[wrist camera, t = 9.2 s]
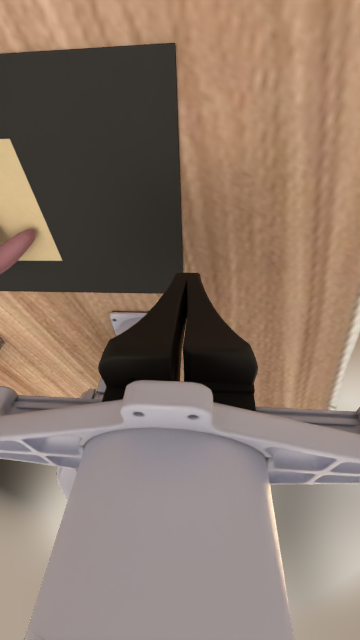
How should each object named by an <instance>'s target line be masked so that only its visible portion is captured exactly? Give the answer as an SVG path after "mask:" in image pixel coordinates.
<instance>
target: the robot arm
mask: <svg viewBox="0 0 360 640" xmlns="http://www.w3.org/2000/svg"><path fill="white" fill-rule="evenodd" d="M110 319H111V322H112V325H113V328H114V331H115V334H116V337H114V338H113V339H111V340H109V342H108V344H107V346H106V348H105V350H104V352H103V355H102V357H101V360H100V363H99V367H98V369H99V373H100V375H101V377H102V380H100V382H99V385H98V388H97V391H96V393H95V389H92V388H90V389H89V390H88V391H86V392H84V393H83V394H82V395H81V397H80V398H64V397H43V396H23V395H17V393H16V392H15V391H14V390H13V389H11V388H9V387H5V386H0V459H8V460H17V461H24V462H32V463H38V464H46V465H51V466H58V470H57V473H56V474H57V476H58V480H57V484H58V486H59V488H60V489H61V490H62V492H63V494H64V495H65V496H66V498H67V499H68V502H67V505H66V508H65V511H64V515H63V518H62V521H61V524H60V528H59V530H58V534H57V537H56V540H55V543H54V546H53V550H52V553H51V556H50V559H49V562H48V565H47V568H46V571H45V575H44V578H43V581H42V584H41V587H40V591H39V594H38V597H37V600H36V603H35V606H34V609H33V613H32V616H31V619H30V622H29V625H28V628H27V631H26V635H25V638H24V640H294V635H293V629H292V622H291V617H290V610H289V603H288V597H287V591H286V585H285V579H284V572H283V566H282V559H281V553H280V546H279V540H278V534H277V528H276V522H275V515H274V508H273V502H272V496H271V489H270V484H360V408H359V409H358V410H357V411H356V412H350V411H331V410H310V409H289V408H269V407H255V400H254V391H255V390H254V381H255V378H256V375H257V371H258V366H257V362H256V359H255V356H254V353H253V351H252V349H251V346H250V344H248V343H247V342H246V341H244V340H243V339H242V338H241V337H239V336H238V335H237V334H236V333H235V332H234V331H233V330H232V329H231V328H230V327H229V326H228V325H227V324H226V323H225V322H224V320H223V319H222V318H221V317H220V315H219V314H218V313H217V311H216V310H215V308H214V307H213V305H212V303H211V302H210V300H209V298H208V296H207V294H206V292H205V290H204V287H203V285H202V282H201V278H200V274H199V273H176V274H175V276H174V278H173V280H172V282H171V283H170V285H169V287H168V288H167V290H166V291H165V293H164V294H163V296H162V297H161V298H160V299H159V301H158V302H157V303H156V305H155V306H154V307H153V308H152V309H151V310H150V311H149V312H148V313H133V312H111V313H110ZM186 320H187V322H186ZM185 326H186V330H185ZM184 332H185V338H184ZM183 338H184V344H183ZM182 344H183V358H184V382H180V368H181V352H182Z"/></svg>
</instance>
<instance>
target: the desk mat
mask: <svg viewBox="0 0 360 640" xmlns="http://www.w3.org/2000/svg"><path fill="white" fill-rule="evenodd" d="M28 229H32V230H34V231H35V233H36V237H35V240H34V242H33V243H32V245H31V246H30V247H29V248H28V249H27V251H26V252H25V253H24V254H23V255H22V256H21V257H20V259H19V260H18V261H17V262H16V263H15V264H13V265H12V266H11V267H10V268H9V269H7V270H6V271H4V272H3V273H1V274H0V291H33V292H100V293H165V291H166V290H167V288H168V287H169V285H170V283H171V282H172V280H173V278H174V276H175V274H176V273H183V255H182V225H181V196H180V167H179V137H178V108H177V79H176V49H175V43H166V44H150V45H134V46H118V47H102V48H86V49H70V50H54V51H38V52H22V53H6V54H0V245H2V244H3V243H5V242H6V241H8V240H9V239H11V238H12V237H14V236H15V235H17V234H18V233H20V232H22V231H25V230H28Z"/></svg>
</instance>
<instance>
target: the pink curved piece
mask: <svg viewBox="0 0 360 640" xmlns="http://www.w3.org/2000/svg"><path fill="white" fill-rule="evenodd" d="M35 237H36V233H35V231H34V230H32V229H28V230H25V231H22V232H20V233H18V234H17V235H15V236H14V237H12V238H11V239H9V240H8V241H6V242H5V243H3V244H2V245H0V274H1V273H3V272H4V271H6V270H7V269H9V268H10V267H11V266H12V265H13V264H15V263H16V262H17V261H18V260H19V259H20V257H21V256H22V255H23V254H24V253H25V252H26V251H27V249H28V248H29V247H30V246H31V245H32V243H33V242H34V240H35Z"/></svg>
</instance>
